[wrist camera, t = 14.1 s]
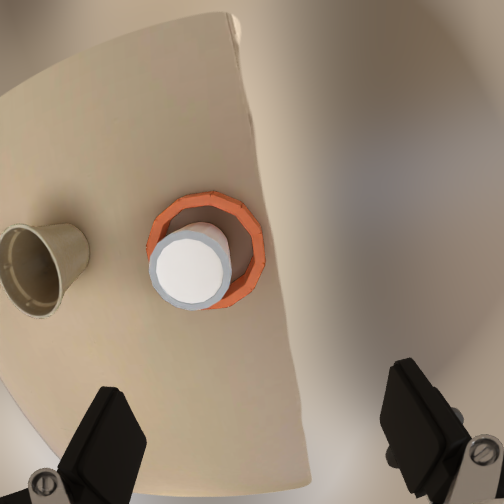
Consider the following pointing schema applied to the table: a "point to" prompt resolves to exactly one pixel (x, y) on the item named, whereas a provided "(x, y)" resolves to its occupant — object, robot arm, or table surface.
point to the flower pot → (41, 265)
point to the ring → (249, 222)
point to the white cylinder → (192, 266)
